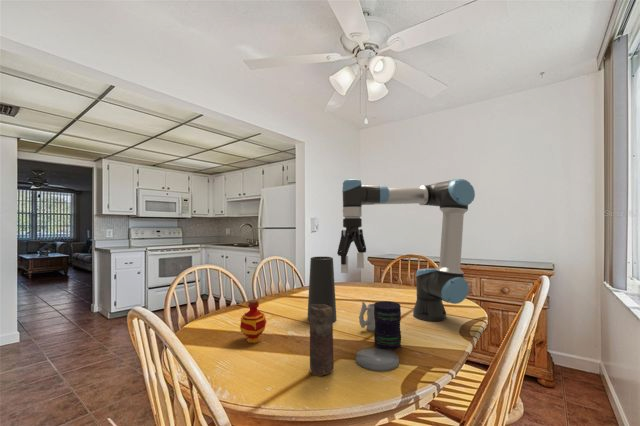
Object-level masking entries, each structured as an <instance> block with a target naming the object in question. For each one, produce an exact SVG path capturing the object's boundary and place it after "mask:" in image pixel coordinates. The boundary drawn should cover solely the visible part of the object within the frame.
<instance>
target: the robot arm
mask: <svg viewBox="0 0 640 426" xmlns="http://www.w3.org/2000/svg"><path fill="white" fill-rule="evenodd" d="M475 197H476V193H475V189H474V186H473V185H472V183H471V182H470V181H468V180H466V179H464V178H454V179H450V180H446V181H441V182H435V183H432V184H427V185H425V184H424V185H420V186H418V187H391V188H390V187H388V186H386V185H380V184H375V185H374V184H371V185H370V184H368V185H367V184H362V181H361V179H359V178H358V179H356V178H352V179H351V178H350V179H349V178H348V179H345V180H344V181H343V182H342V217H343V219H342V228H345V229H341V231H340V232H341V233H340V240H339V244H338V247H337V248H338V249H337V255H338V257H340V273H343V274H349V256H348V252H349V251H350V248H351V244H352V243H354V246H355V247H356V250H357V252H356V263H357V264H356V268H357V269H365V261H364V260H365V258H364V257H365V256H364V255H365V253H367V247H366V242H365V237H364V233H363V229H362V228H361V227H362V226H363V224H362V217H363V216H362V215H363V214H362V213H363V212H362V207H363V206H369V205H371V206H372V205H402V204H403V205H405V204H406V205H408V204H418V205H419V206H429V207H430V206H432V207H439V210H440V211H441V212H442V222H441V235H440V236H441V238H440V248H439V249H440V252H439V265H438V267H436V268H418V269H417V270H416V274H415V277H416V282H415V283H416V300H415V303H414V307H413V310H412V317H414V318H416V319H419V320H423V321H426V322H442V321H445V320H447V311H446V308H445V306H444V303H443V302H445V303H447V304H453V305H456V304H460V303H462V302H463V301H464V300H466V298H468V295H469V292H470V285H469V283H468V281H467V280H466V279H465V278H464V276H465V273H464V271H463V270H462V269H461V264H462V263H461V261H462V248H463V246H462V245H463V231H464V218H465V217H464V216H465V214H466V213H467V211H468V210H469V205H470V204H472V202H474V201H475V200H474V199H475Z"/></svg>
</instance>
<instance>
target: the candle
mask: <svg viewBox="0 0 640 426" xmlns="http://www.w3.org/2000/svg"><path fill="white" fill-rule="evenodd" d="M333 326H334V322H333V315H332V307H329V306H328V305H325V304H311V305H310V322H309V370H310V371H311V374H312V375H314V376H319V377H320V376H325V375H327V374H331V373H332V372H333V371H334V366H335V364H334V359H335V358H334V335H333V334H334V333H333V332H334V328H333Z"/></svg>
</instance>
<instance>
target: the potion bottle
mask: <svg viewBox="0 0 640 426" xmlns="http://www.w3.org/2000/svg"><path fill="white" fill-rule="evenodd" d="M259 306H260V304H259V300H258V299H250V300H248V305H247V307H248V308H249V311H247V312H245V313H243V315H241V318H240V325H239V329H240V332H241V333H243V335H244V336H246V337H247V340H246V342H247V341H248V342H247V343H249V342H250V343H251V342H253V343H257V342H260V341H261V338H260V337H261V335H263V334H262V333H263V332H264V331H265V329H266V325H267V320H266V315H265V314H264V313H263V312H261V310H259V309H258V308H259Z"/></svg>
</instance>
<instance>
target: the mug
mask: <svg viewBox="0 0 640 426" xmlns="http://www.w3.org/2000/svg"><path fill="white" fill-rule="evenodd" d="M361 304H362V305H361V307H360V313H359V316H358V321H359V325H360V327H361V328H362V329H364V328H365V327H366V328H367V330H368V331H371V332H374V329H375V319H374V303H369V304H367V305H366V303H365V302H364V301H362V303H361ZM365 313H366V314H367V316H366V318H367V319H366V320H365V319H364V315H365Z"/></svg>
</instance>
